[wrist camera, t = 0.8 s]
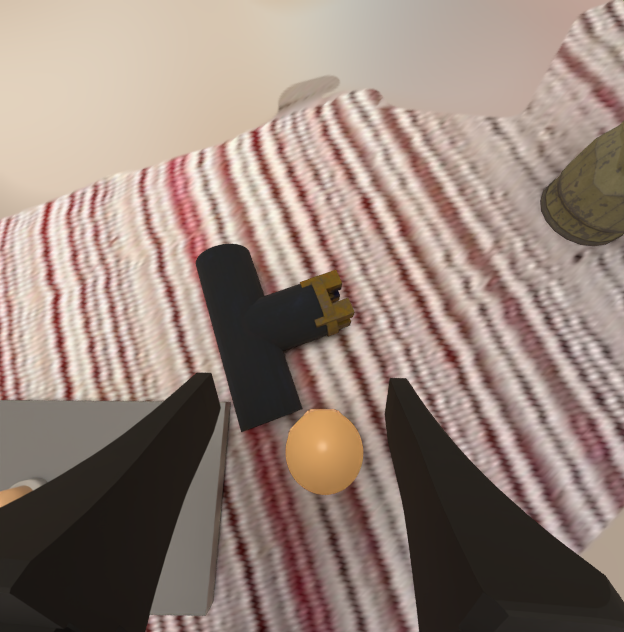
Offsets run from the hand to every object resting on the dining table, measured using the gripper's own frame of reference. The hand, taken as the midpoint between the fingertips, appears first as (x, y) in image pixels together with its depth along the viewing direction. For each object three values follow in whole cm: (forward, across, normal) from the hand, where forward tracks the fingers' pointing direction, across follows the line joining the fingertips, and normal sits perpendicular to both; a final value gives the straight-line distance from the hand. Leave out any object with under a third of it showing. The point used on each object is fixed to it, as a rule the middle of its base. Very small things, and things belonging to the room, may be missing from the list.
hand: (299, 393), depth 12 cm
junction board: (+3, +17, +15) cm, 23 cm away
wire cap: (+7, 0, +13) cm, 15 cm away
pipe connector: (+15, +3, +6) cm, 16 cm away
